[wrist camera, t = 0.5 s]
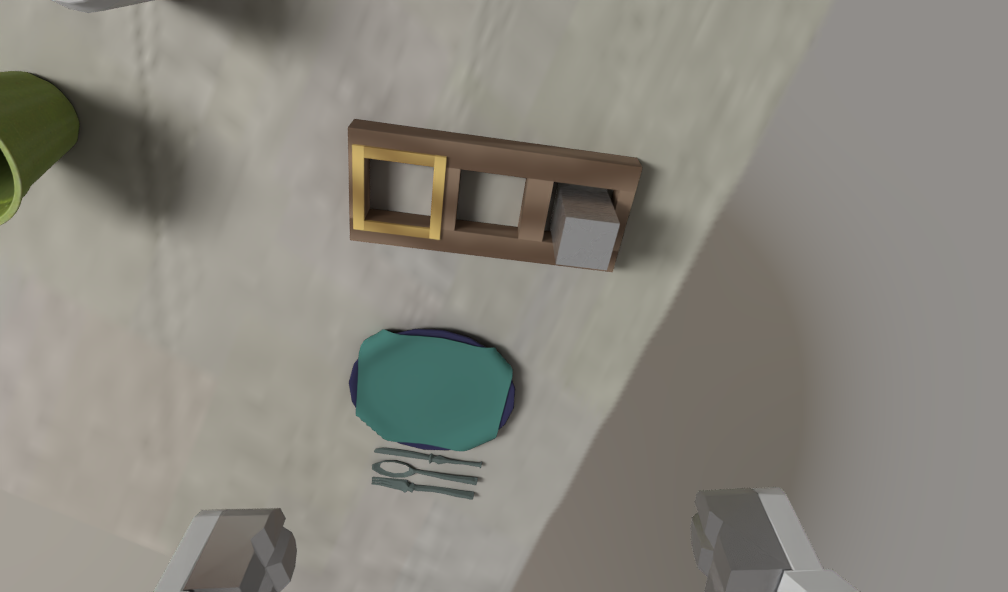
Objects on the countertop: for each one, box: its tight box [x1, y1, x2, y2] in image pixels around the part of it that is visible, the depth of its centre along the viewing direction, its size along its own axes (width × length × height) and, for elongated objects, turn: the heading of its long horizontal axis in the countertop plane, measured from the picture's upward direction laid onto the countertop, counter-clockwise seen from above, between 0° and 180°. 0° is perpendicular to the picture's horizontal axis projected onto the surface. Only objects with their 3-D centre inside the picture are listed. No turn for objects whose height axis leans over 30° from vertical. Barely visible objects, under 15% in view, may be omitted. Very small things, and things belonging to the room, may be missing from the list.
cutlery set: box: [349, 329, 515, 499], centre depth 70 cm, size 20×30×2 cm, turn 169°
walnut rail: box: [348, 119, 643, 272], centre depth 52 cm, size 11×26×3 cm, turn 82°
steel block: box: [550, 182, 620, 270], centre depth 51 cm, size 5×5×8 cm
